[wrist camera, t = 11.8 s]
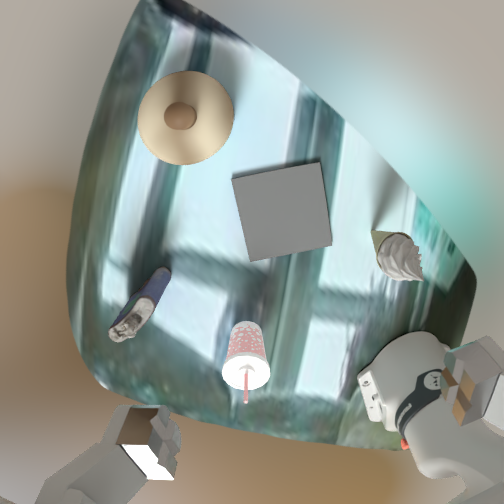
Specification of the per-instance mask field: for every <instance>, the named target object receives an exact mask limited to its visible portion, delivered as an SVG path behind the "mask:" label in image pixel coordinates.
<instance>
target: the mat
mask: <svg viewBox="0 0 504 504" xmlns="http://www.w3.org/2000/svg"><path fill="white" fill-rule="evenodd" d="M231 181H232V185H233V189H234V194H235V198H236V202H237V207H238V211H239V216H240V220H241V224H242V229H243V233H244V237H245V242H246V246H247V250H248V255H249V259H250V262H252V261H257V260H262V259H268V258H273V257H278V256H283V255H288V254H293V253H298V252H303V251H308V250H312V249H317V248H322V247H327V246H332V240H331V232H330V225H329V218H328V211H327V204H326V197H325V191H324V185H323V178H322V172H321V167H320V162H316V163H310V164H304V165H299V166H293V167H288V168H283V169H277V170H272V171H267V172H262V173H257V174H252V175H248V176H243V177H238V178H234V179H231Z"/></svg>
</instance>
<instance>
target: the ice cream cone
mask: <svg viewBox="0 0 504 504" xmlns="http://www.w3.org/2000/svg"><path fill="white" fill-rule="evenodd" d="M371 236H372V240H373V244H374V248H375V252H376V259H377V263H378V265H379V267H380V268H381V270H382V271H383V272H384V273H385V274H386V275H387V276H389V277H390V278H392V279H394V280H397V281H401V280H408V281H411V280H421V281H424V279H423V274H422V267H420V262H421V256H422V255H421V254H418V252H419V247H418V246H415V245H414V242H413V240H412V239H411V237H410V236H408V235H407V234H405V233H402V232H395V233H394V232H385V231H375V230H372V231H371Z"/></svg>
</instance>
